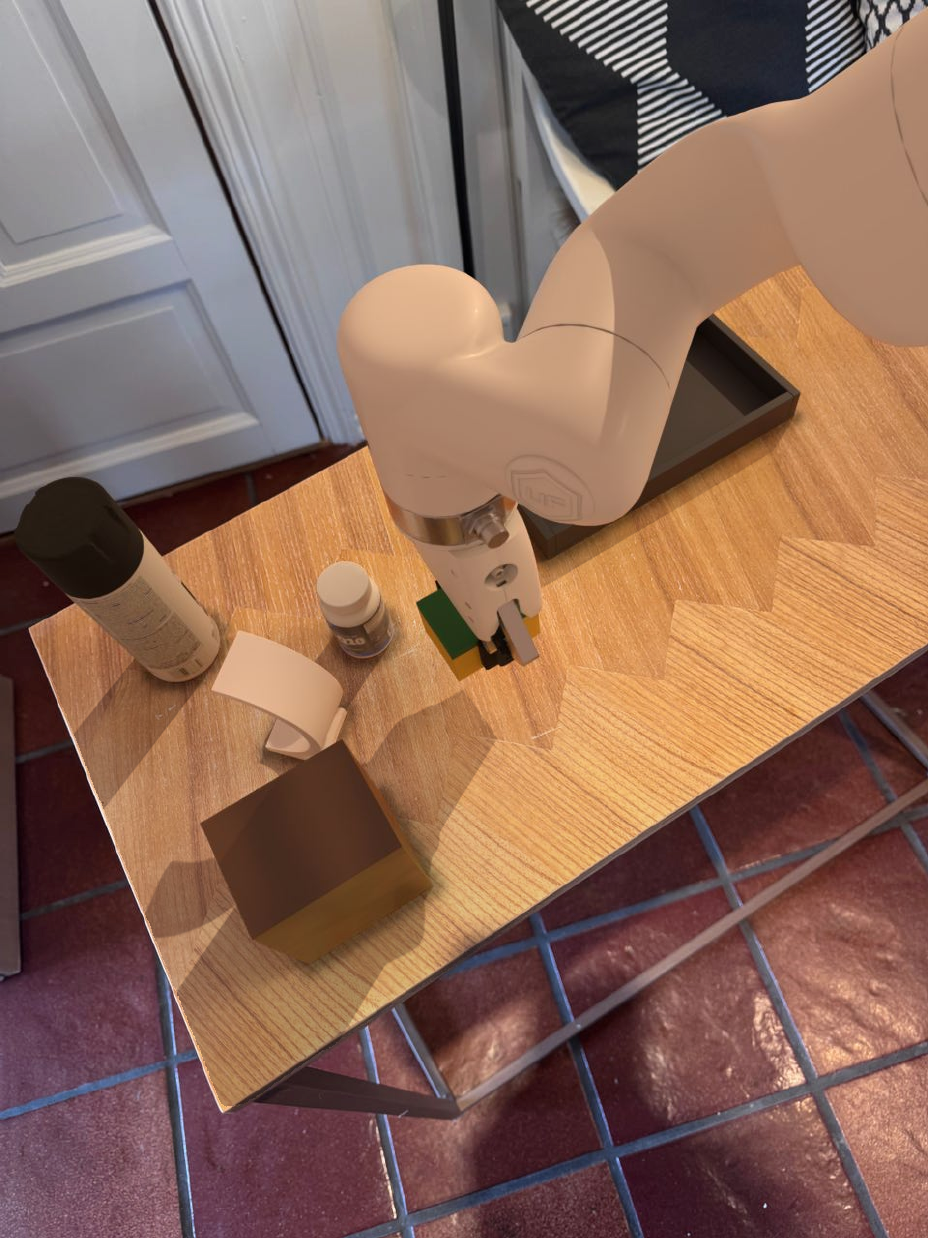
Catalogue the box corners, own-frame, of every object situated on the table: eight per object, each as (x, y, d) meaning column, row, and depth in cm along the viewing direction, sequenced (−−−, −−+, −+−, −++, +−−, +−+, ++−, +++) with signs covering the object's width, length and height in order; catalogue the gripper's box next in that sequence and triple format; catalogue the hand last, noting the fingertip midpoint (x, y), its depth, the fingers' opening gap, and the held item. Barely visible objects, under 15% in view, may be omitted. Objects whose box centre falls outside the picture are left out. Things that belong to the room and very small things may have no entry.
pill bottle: (327, 645, 73) (297, 595, 65) (358, 599, 74) (333, 546, 67) (374, 669, 71) (350, 621, 64) (405, 622, 73) (385, 570, 65)
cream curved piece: (290, 697, 71) (238, 629, 60) (359, 715, 69) (319, 649, 59) (267, 750, 69) (210, 690, 58) (338, 770, 67) (292, 711, 57)
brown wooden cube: (381, 793, 66) (342, 738, 56) (433, 886, 63) (402, 846, 52) (262, 865, 65) (199, 823, 54) (309, 965, 61) (251, 940, 51)
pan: (696, 326, 84) (700, 300, 81) (793, 416, 77) (801, 392, 75) (465, 454, 80) (461, 432, 77) (548, 560, 74) (546, 540, 71)
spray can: (235, 621, 75) (127, 479, 57) (204, 693, 72) (80, 568, 54) (166, 607, 76) (40, 464, 59) (132, 677, 74) (-10, 550, 56)
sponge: (504, 584, 67) (500, 553, 63) (540, 633, 65) (538, 604, 61) (425, 630, 66) (415, 602, 62) (459, 682, 64) (451, 655, 60)
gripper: (595, 554, 46) (591, 691, 62) (432, 356, 53) (467, 523, 69) (471, 627, 45) (500, 747, 61) (323, 414, 52) (383, 570, 68)
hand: (482, 626), depth 65 cm, fingers closed on sponge, 5 cm apart
